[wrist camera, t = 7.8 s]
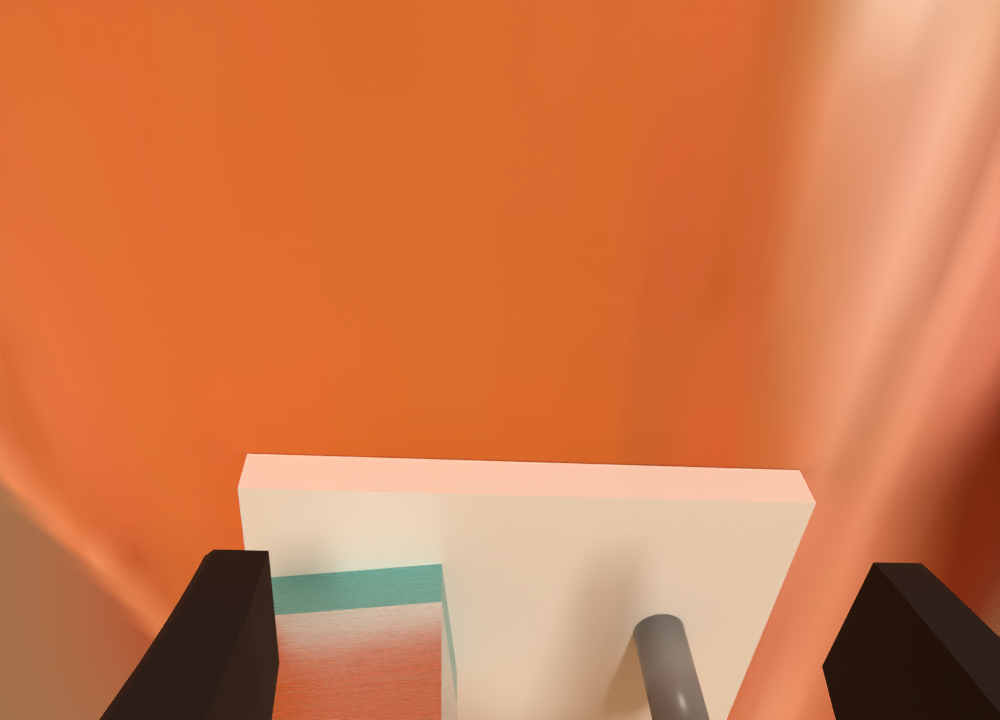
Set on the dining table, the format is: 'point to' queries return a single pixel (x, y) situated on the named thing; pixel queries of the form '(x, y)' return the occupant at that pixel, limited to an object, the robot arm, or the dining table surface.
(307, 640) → the teal banded block
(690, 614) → the pin board
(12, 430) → the dining table surface
